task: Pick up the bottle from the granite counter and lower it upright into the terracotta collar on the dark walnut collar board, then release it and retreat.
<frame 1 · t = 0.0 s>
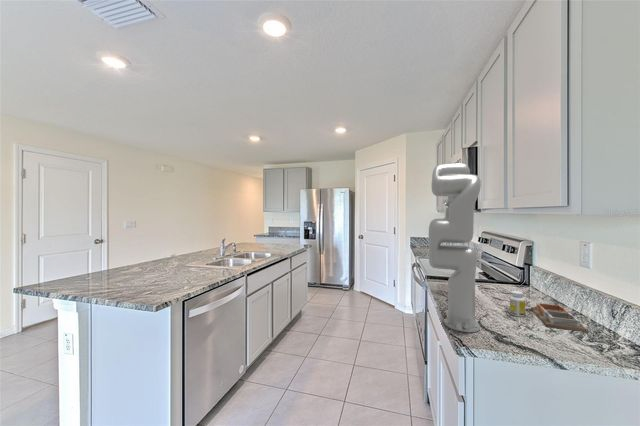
hand: (455, 236, 148), 31 cm above the countertop, tool pointing down, fingers open, 9 cm apart
supplement bottle: (517, 315, 118), on the countertop
collar board: (556, 320, 112), on the countertop
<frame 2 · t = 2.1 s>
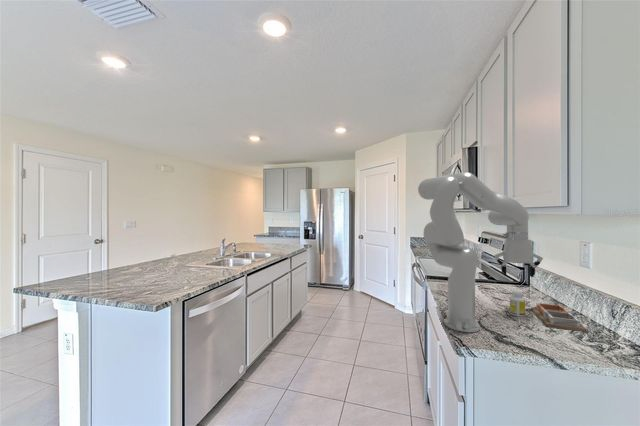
hand: (517, 275, 118), 17 cm above the countertop, tool pointing down, fingers open, 9 cm apart
nothing on the countertop moved.
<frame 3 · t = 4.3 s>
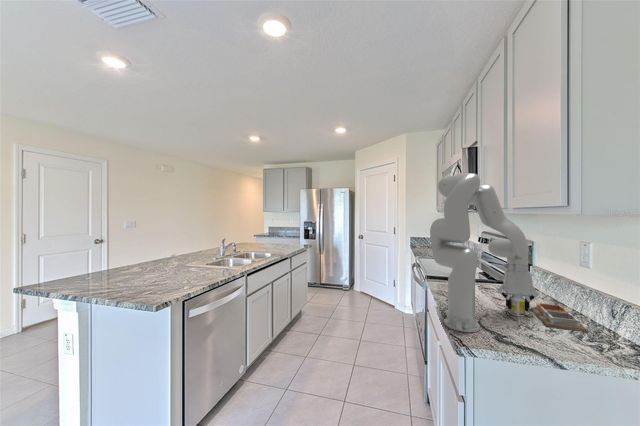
hand: (517, 308, 118), 2 cm above the countertop, tool pointing down, fingers closed on supplement bottle, 5 cm apart
supplement bottle: (517, 315, 118), on the countertop, touching gripper
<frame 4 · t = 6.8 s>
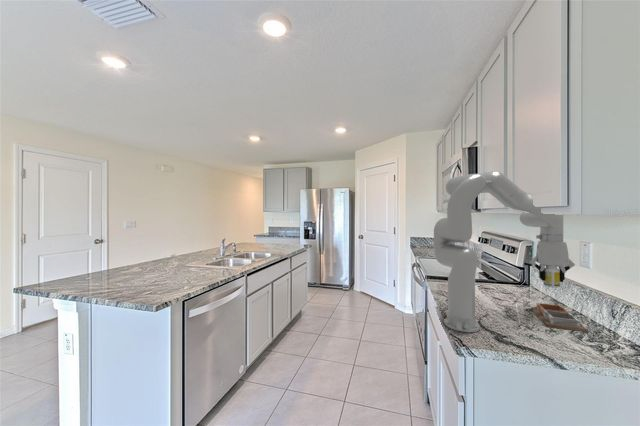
hand: (551, 280, 116), 15 cm above the countertop, tool pointing down, fingers closed on supplement bottle, 5 cm apart
supplement bottle: (551, 286, 116), point 13 cm above the countertop, touching gripper
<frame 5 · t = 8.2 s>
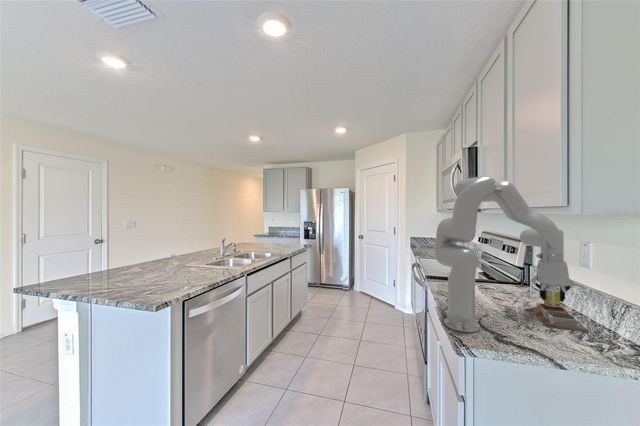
hand: (552, 299, 116), 7 cm above the countertop, tool pointing down, fingers closed on supplement bottle, 5 cm apart
supplement bottle: (552, 305, 116), point 4 cm above the countertop, touching gripper
when the fingers open (5 cm above the countertop, at t = 9.5 s): supplement bottle drops 1 cm, resting on collar board.
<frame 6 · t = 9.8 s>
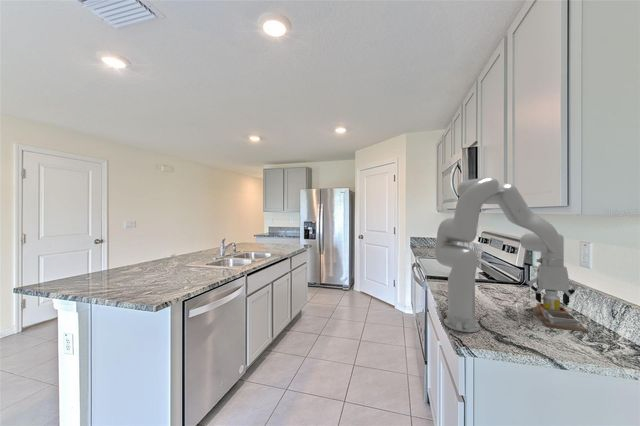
hand: (552, 303, 116), 6 cm above the countertop, tool pointing down, fingers open, 8 cm apart
supplement bottle: (551, 313, 116), point 1 cm above the countertop, touching collar board
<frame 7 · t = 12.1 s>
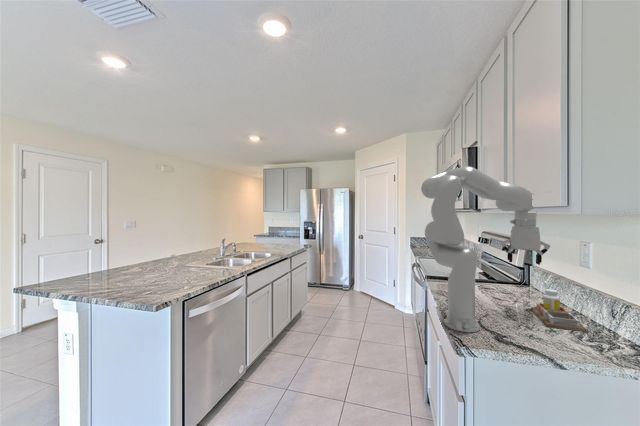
hand: (523, 263, 117), 23 cm above the countertop, tool pointing down, fingers open, 9 cm apart
nothing on the countertop moved.
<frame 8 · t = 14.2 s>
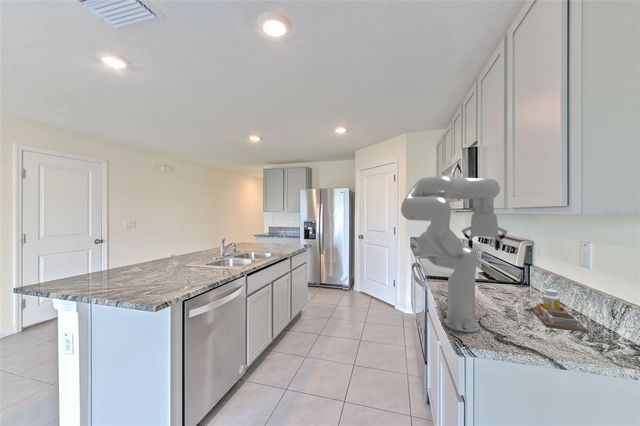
hand: (483, 249, 120), 28 cm above the countertop, tool pointing down, fingers open, 9 cm apart
nothing on the countertop moved.
at the end: supplement bottle 0.2 cm from the target spot on the collar board, point 1.0 cm above the collar board's base; supplement bottle tilted 0°; the gripper is holding nothing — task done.
